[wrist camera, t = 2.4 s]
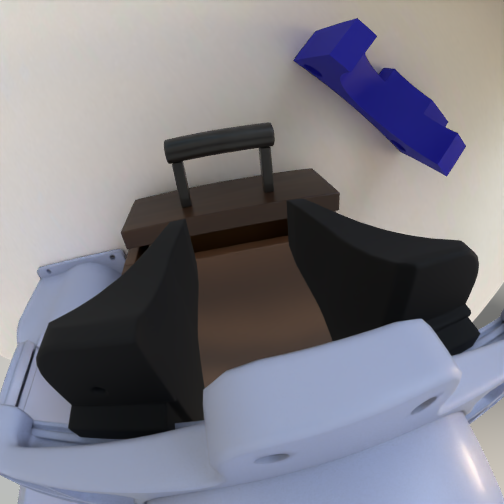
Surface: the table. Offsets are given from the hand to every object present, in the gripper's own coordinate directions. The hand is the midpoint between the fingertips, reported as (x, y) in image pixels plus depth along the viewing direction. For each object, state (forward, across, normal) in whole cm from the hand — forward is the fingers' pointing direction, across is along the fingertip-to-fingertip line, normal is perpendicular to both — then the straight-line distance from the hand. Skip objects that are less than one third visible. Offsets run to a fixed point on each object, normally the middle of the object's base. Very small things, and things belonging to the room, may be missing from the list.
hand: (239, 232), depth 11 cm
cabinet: (+10, 0, +13) cm, 17 cm away
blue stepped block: (+11, -12, -5) cm, 17 cm away
